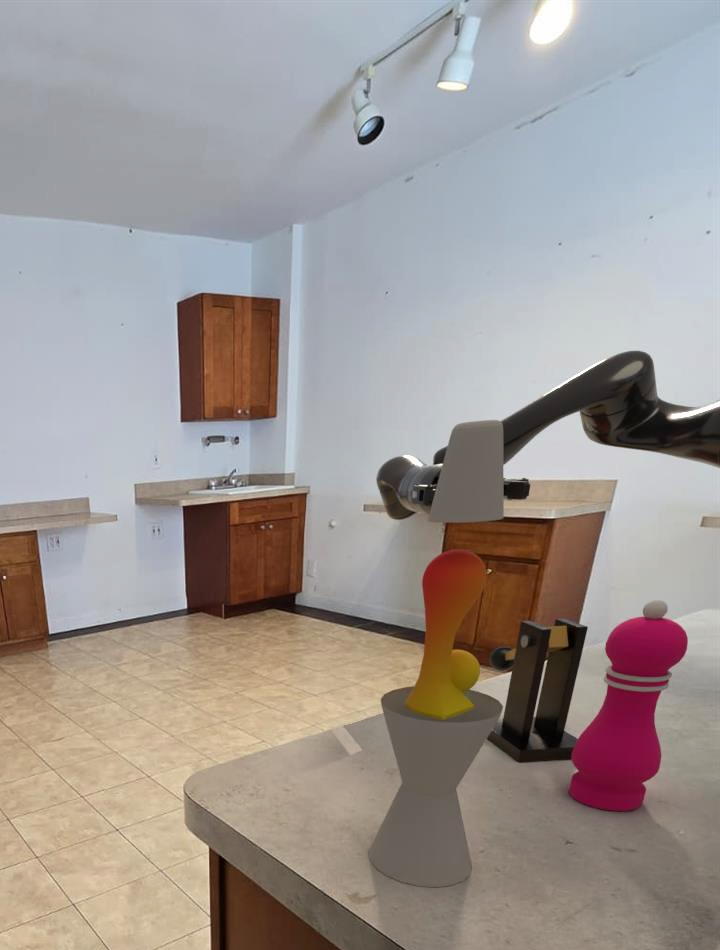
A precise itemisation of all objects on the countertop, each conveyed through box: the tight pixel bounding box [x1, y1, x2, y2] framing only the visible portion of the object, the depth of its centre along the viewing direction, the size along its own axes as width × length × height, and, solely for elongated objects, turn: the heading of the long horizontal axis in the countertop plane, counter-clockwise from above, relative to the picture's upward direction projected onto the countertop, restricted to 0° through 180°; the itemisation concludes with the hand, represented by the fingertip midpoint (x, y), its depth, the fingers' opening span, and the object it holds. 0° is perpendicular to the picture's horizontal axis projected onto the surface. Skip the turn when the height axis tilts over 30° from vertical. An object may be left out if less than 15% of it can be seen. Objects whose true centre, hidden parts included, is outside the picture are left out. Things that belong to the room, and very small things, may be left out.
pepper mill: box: [568, 599, 689, 812], centre depth 61 cm, size 7×7×20 cm
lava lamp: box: [367, 419, 505, 888], centre depth 50 cm, size 9×9×35 cm
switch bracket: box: [486, 618, 589, 763], centre depth 75 cm, size 10×8×15 cm
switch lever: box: [488, 625, 568, 672], centre depth 78 cm, size 13×3×3 cm, turn 0°
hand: (493, 493), depth 84 cm, fingers open, 8 cm apart
